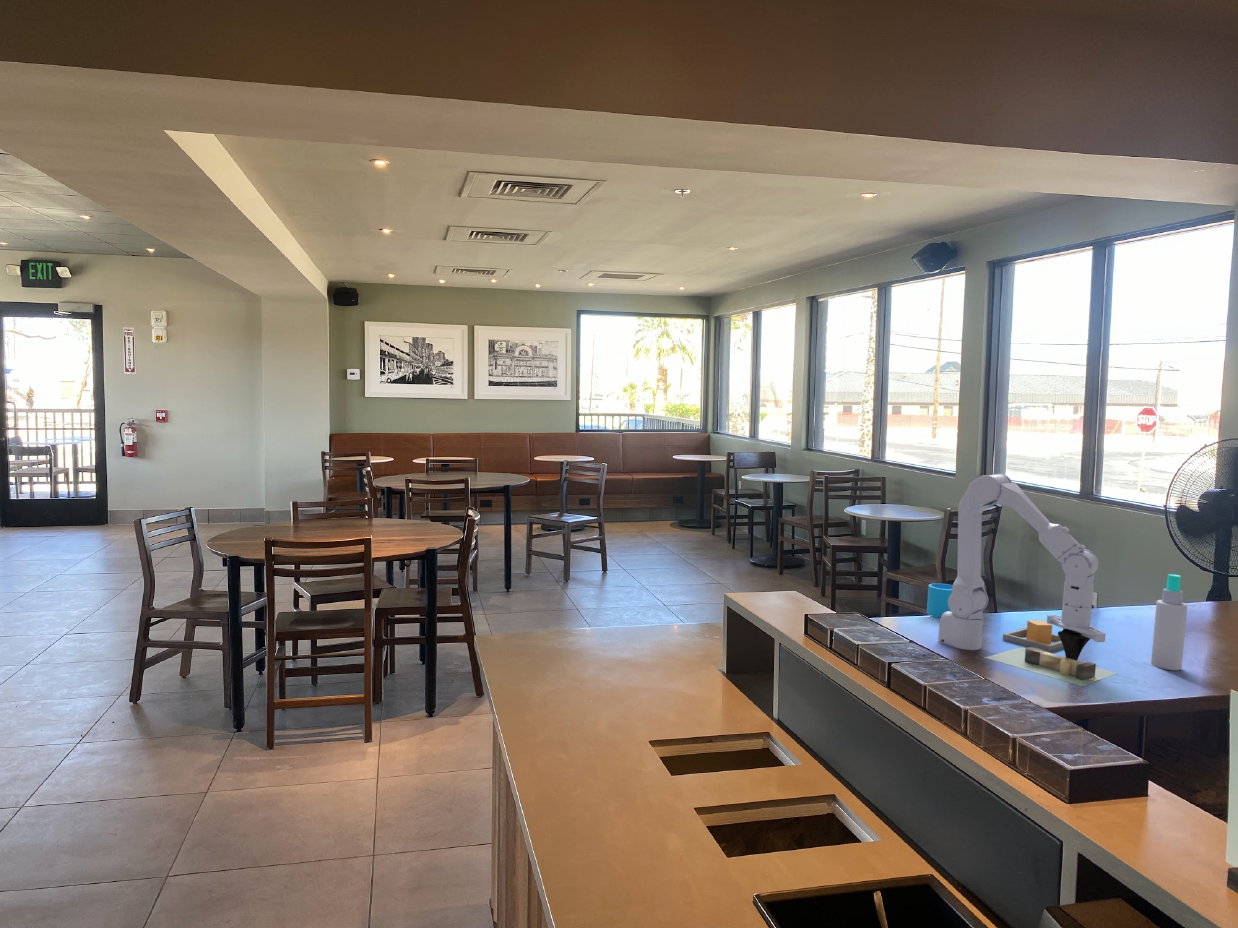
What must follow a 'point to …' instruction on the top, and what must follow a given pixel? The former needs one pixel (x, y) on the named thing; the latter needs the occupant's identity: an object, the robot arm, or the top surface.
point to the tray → (1016, 635)
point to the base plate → (1018, 660)
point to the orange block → (1039, 632)
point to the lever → (1054, 661)
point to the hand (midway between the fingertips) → (1071, 663)
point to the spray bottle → (1169, 627)
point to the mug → (938, 599)
